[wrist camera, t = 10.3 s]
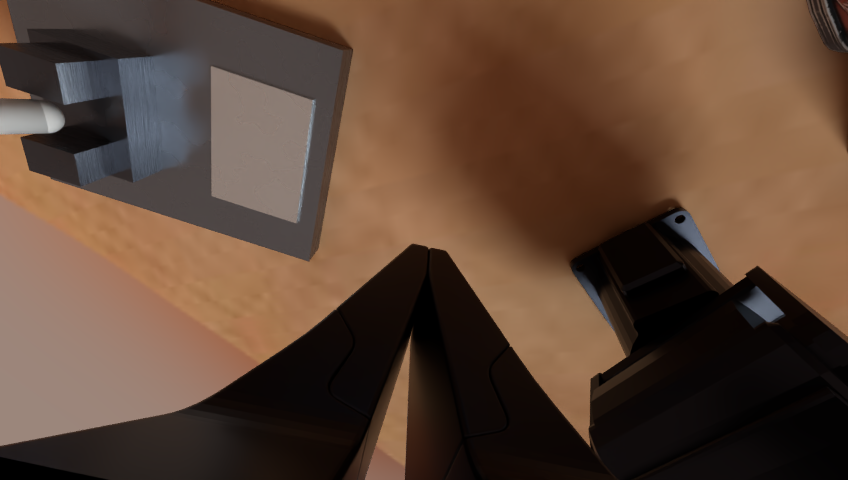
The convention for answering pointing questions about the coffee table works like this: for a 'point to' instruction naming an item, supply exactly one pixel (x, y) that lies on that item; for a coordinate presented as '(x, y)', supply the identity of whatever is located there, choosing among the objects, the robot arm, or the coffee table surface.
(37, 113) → the lever
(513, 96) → the coffee table surface
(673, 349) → the robot arm
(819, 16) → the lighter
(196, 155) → the switch panel
